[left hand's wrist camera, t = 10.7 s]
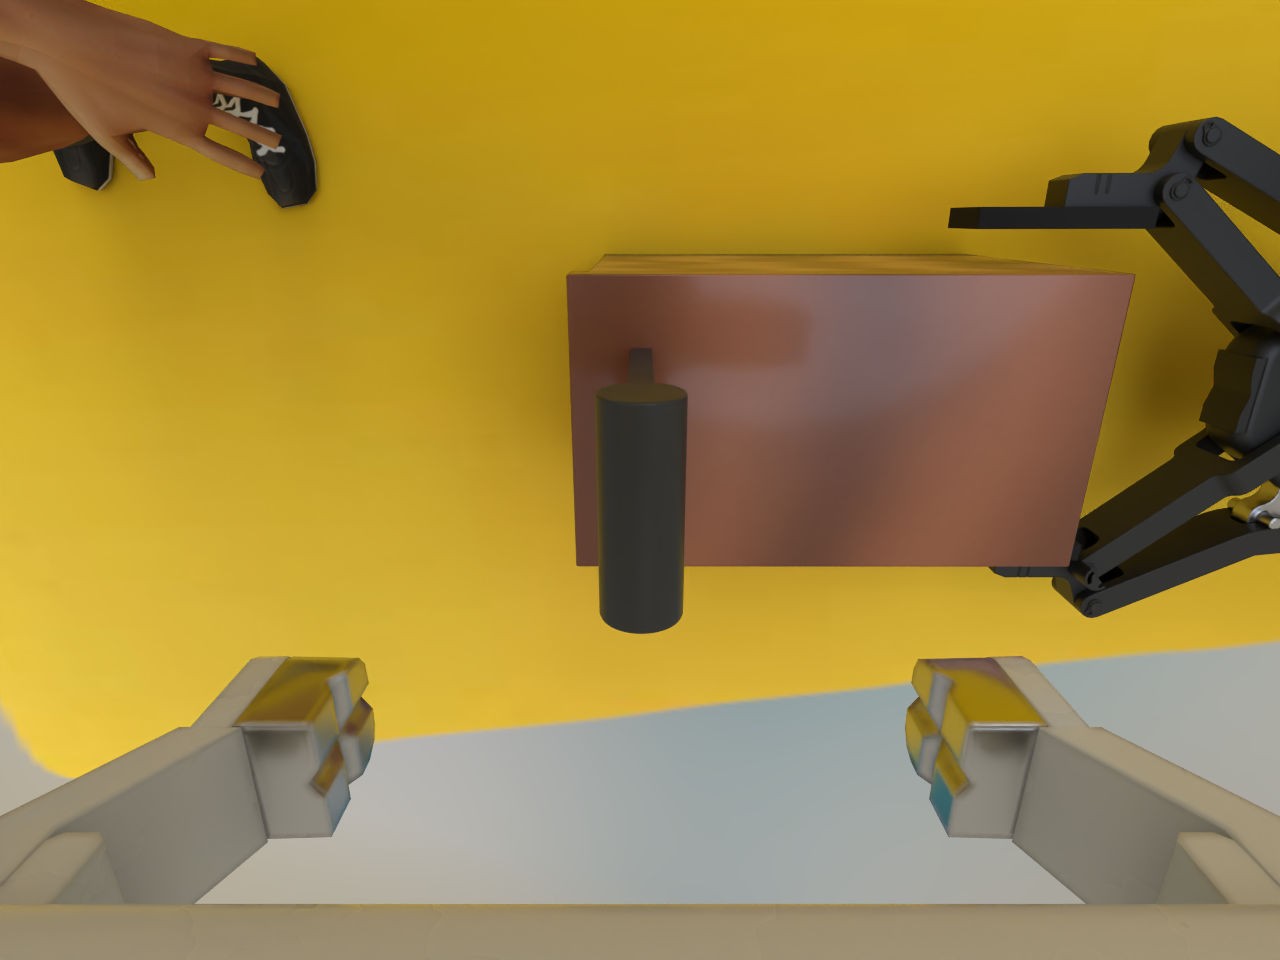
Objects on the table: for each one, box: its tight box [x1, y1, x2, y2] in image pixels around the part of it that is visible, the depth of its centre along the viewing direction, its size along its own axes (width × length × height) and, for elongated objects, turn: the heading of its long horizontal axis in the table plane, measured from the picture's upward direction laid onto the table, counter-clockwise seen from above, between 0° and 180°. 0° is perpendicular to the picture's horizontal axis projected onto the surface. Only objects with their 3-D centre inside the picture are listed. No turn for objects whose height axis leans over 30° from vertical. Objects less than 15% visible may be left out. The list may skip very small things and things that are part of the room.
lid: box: [566, 271, 1135, 634], centre depth 21 cm, size 18×10×9 cm, turn 90°
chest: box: [591, 254, 1104, 271], centre depth 31 cm, size 17×10×11 cm, turn 90°
